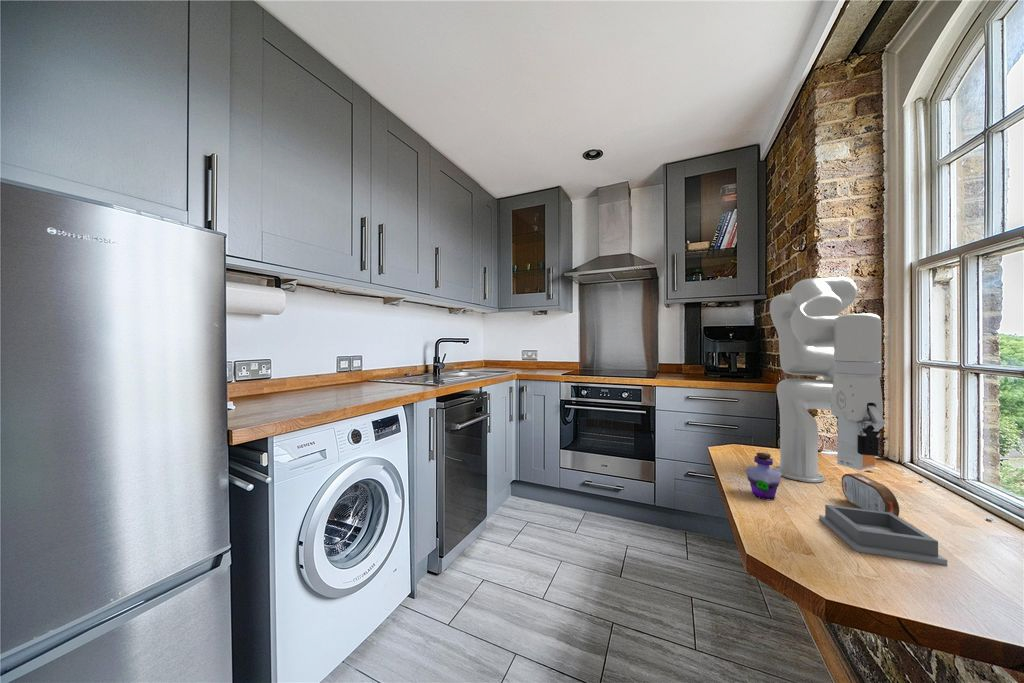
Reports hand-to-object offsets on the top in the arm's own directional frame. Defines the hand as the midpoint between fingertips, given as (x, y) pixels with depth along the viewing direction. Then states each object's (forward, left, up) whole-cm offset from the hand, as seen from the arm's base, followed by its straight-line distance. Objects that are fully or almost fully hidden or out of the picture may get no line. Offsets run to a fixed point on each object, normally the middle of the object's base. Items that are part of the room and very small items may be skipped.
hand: (856, 448), depth 77 cm
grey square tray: (0, +3, -19) cm, 20 cm away
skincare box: (0, 0, -4) cm, 4 cm away
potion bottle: (-18, -12, -20) cm, 29 cm away
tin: (-16, +10, -20) cm, 27 cm away
